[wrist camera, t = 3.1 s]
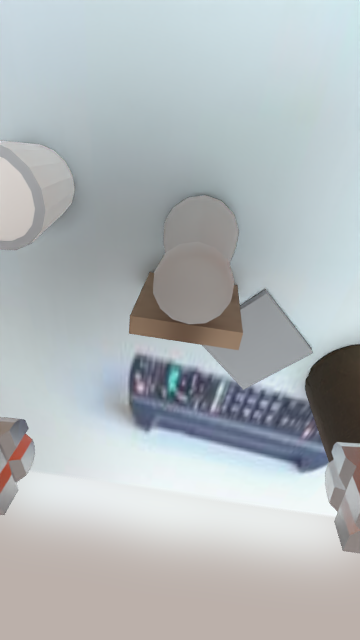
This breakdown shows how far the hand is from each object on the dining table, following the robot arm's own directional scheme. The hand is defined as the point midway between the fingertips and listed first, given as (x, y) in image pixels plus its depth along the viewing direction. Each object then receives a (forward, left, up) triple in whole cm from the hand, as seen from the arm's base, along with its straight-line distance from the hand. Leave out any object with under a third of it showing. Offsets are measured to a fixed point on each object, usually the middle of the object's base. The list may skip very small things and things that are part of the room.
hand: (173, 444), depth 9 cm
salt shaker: (0, 0, -22) cm, 22 cm away
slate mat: (-3, -12, -22) cm, 25 cm away
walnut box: (-4, -4, -22) cm, 23 cm away
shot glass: (-8, +11, -22) cm, 26 cm away
